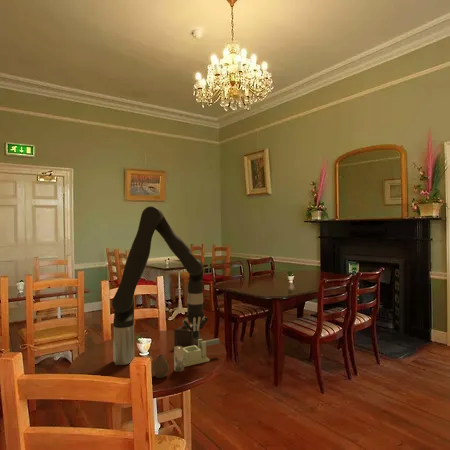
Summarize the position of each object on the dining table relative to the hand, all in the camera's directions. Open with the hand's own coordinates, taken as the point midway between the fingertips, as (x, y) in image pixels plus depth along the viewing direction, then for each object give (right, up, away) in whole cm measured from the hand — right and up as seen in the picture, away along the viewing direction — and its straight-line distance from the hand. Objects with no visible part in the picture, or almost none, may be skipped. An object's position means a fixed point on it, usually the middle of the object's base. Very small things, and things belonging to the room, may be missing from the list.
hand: (195, 338), depth 170 cm
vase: (-13, -11, -17) cm, 24 cm away
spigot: (-6, -11, -11) cm, 17 cm away
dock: (-2, -10, -1) cm, 10 cm away
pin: (+7, -4, +4) cm, 9 cm away
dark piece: (-4, -10, +22) cm, 24 cm away
